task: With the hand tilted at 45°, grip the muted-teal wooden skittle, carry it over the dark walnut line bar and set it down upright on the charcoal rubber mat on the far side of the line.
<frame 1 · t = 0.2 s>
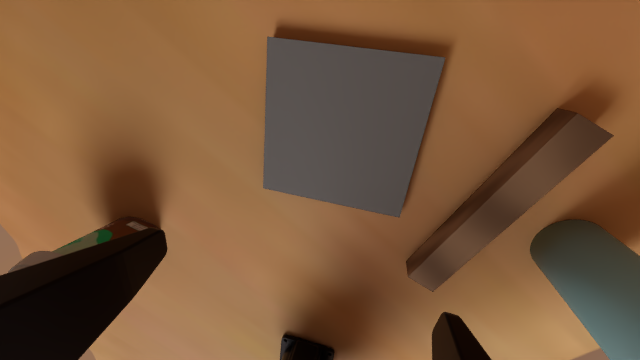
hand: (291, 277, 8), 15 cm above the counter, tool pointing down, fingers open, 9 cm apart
line bar: (482, 206, 21), on the counter
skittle: (568, 247, 20), on the counter
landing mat: (340, 131, 21), on the counter
food container: (127, 234, 32), on the counter
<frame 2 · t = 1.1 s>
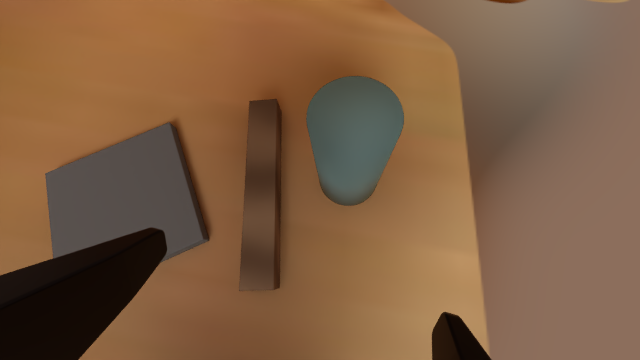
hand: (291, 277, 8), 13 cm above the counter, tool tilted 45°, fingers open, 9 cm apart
line bar: (266, 190, 23), on the counter
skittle: (347, 177, 23), on the counter
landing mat: (128, 206, 23), on the counter
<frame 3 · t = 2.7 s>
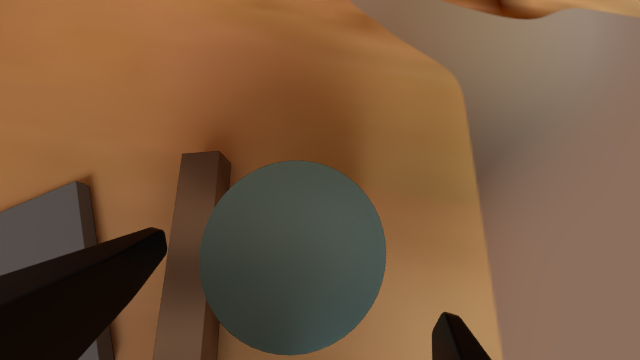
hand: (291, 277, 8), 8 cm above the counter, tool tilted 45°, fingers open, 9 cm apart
line bar: (202, 281, 16), on the counter
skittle: (317, 262, 16), on the counter
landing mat: (7, 305, 17), on the counter
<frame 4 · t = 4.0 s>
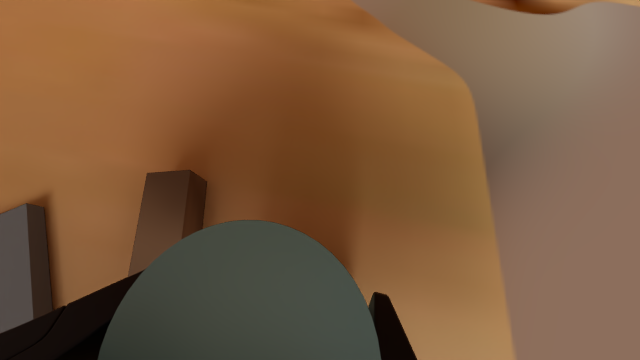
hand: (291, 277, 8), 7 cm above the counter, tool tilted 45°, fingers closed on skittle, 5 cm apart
line bar: (169, 324, 14), on the counter
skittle: (304, 301, 14), on the counter, touching gripper
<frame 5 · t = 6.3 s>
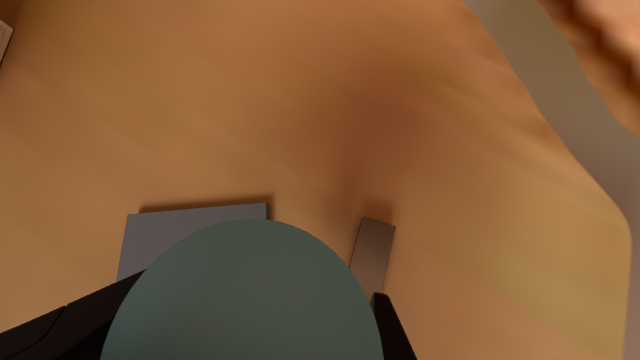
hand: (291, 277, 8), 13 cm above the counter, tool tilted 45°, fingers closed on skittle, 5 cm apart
line bar: (349, 328, 19), on the counter
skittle: (305, 300, 14), point 7 cm above the counter, touching gripper
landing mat: (196, 283, 21), on the counter
when the fingers open (9 cm above the counter, at t = 8.5 s): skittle drops 1 cm, resting on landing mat.
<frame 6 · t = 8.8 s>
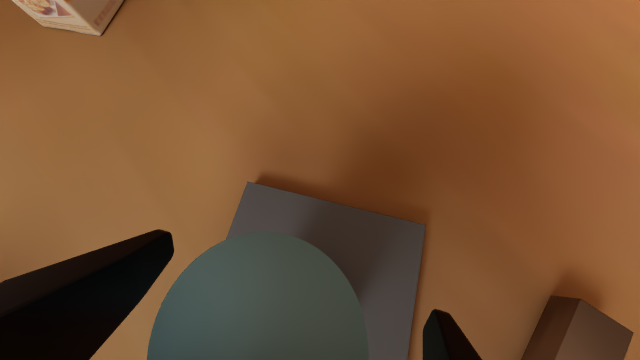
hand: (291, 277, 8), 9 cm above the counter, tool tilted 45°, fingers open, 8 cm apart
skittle: (307, 299, 15), point 1 cm above the counter, touching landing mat
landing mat: (308, 297, 16), on the counter
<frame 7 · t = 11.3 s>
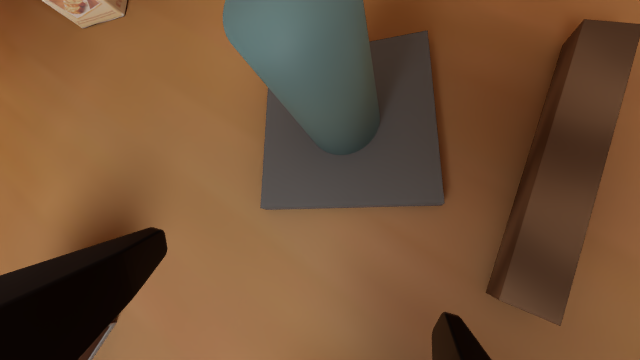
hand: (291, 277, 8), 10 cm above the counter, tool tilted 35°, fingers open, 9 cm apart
line bar: (551, 168, 15), on the counter
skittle: (343, 120, 18), point 1 cm above the counter, touching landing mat
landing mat: (345, 126, 19), on the counter
food container: (68, 344, 22), on the counter
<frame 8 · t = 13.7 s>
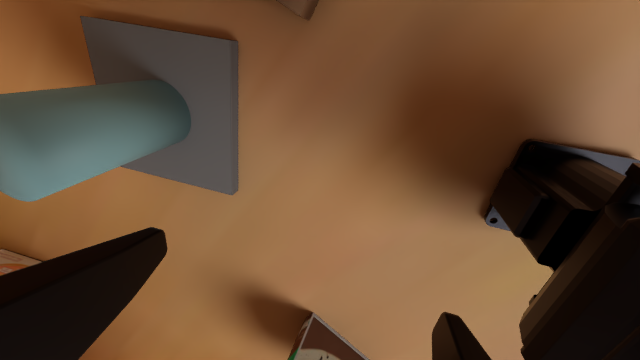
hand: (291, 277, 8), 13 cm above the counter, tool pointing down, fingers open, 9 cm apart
coffeecake box: (52, 276, 38), on the counter
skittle: (163, 112, 21), point 1 cm above the counter, touching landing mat
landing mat: (171, 111, 22), on the counter
food container: (326, 345, 30), on the counter
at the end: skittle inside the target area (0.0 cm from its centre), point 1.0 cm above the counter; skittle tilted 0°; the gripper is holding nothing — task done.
